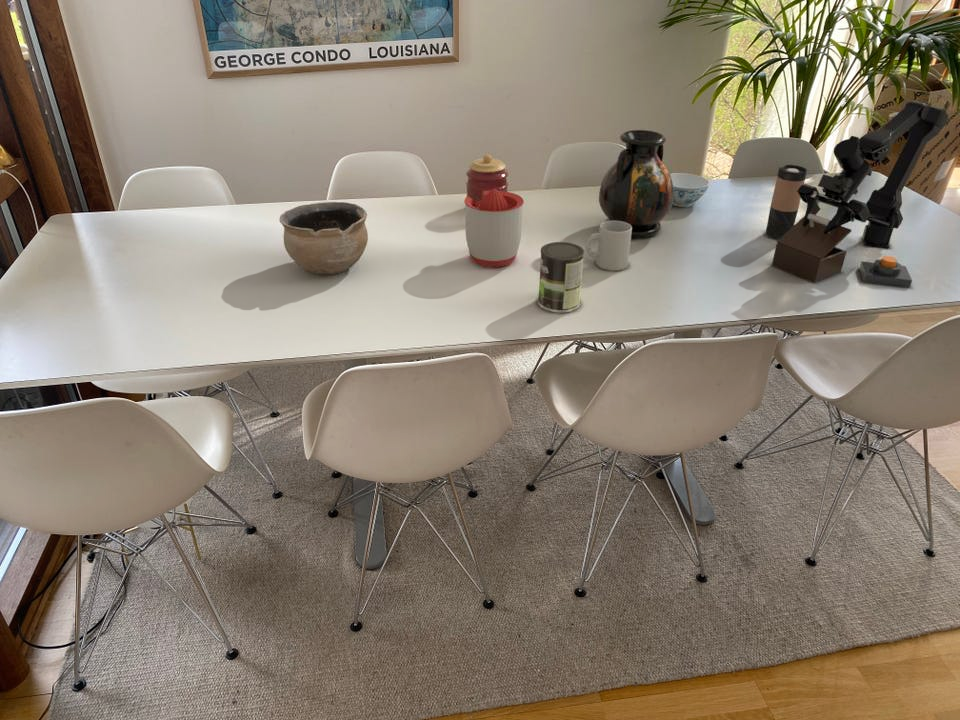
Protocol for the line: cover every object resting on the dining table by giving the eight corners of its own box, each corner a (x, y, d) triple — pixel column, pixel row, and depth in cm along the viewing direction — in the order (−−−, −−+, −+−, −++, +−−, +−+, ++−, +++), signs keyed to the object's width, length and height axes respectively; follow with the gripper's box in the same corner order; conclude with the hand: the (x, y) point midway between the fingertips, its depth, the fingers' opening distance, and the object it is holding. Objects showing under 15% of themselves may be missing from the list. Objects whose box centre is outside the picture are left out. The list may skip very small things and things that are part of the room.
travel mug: (793, 241, 224) (809, 173, 214) (766, 238, 225) (780, 171, 215) (789, 231, 230) (805, 165, 220) (763, 229, 232) (777, 163, 221)
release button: (893, 263, 202) (896, 257, 201) (896, 269, 199) (898, 262, 198) (879, 261, 203) (881, 255, 202) (881, 267, 200) (883, 260, 199)
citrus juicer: (488, 241, 222) (489, 173, 211) (533, 260, 211) (536, 189, 201) (448, 257, 212) (447, 186, 202) (493, 276, 202) (494, 203, 191)
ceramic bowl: (299, 291, 193) (292, 235, 185) (276, 259, 210) (269, 207, 202) (382, 275, 202) (379, 220, 194) (354, 245, 219) (350, 194, 211)
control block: (903, 273, 206) (907, 259, 204) (909, 288, 198) (914, 273, 196) (859, 268, 208) (863, 255, 206) (863, 282, 201) (867, 268, 199)
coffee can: (541, 313, 184) (544, 259, 177) (535, 294, 193) (537, 242, 186) (583, 312, 185) (588, 258, 178) (575, 293, 194) (579, 241, 187)
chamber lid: (807, 215, 209) (805, 201, 205) (851, 231, 199) (850, 217, 196) (777, 243, 206) (775, 229, 203) (820, 260, 197) (819, 246, 194)
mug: (620, 256, 213) (624, 219, 208) (632, 269, 206) (637, 230, 201) (579, 260, 211) (582, 222, 205) (590, 273, 204) (594, 234, 198)
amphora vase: (637, 249, 218) (649, 151, 203) (581, 227, 232) (588, 133, 217) (683, 230, 230) (698, 136, 215) (627, 211, 244) (637, 121, 229)
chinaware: (710, 212, 244) (714, 188, 240) (662, 211, 244) (666, 187, 240) (699, 196, 256) (703, 173, 252) (654, 195, 256) (657, 172, 252)
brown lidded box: (797, 255, 215) (803, 234, 212) (840, 272, 206) (846, 251, 202) (771, 265, 210) (776, 243, 206) (814, 283, 200) (820, 260, 197)
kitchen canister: (514, 207, 245) (516, 152, 236) (493, 220, 236) (494, 163, 227) (480, 199, 251) (480, 145, 242) (458, 211, 242) (457, 156, 233)
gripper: (809, 153, 201) (773, 203, 202) (875, 172, 188) (837, 225, 189) (821, 176, 209) (787, 224, 210) (885, 196, 196) (848, 247, 197)
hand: (813, 229), depth 201 cm, fingers closed on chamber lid, 6 cm apart
